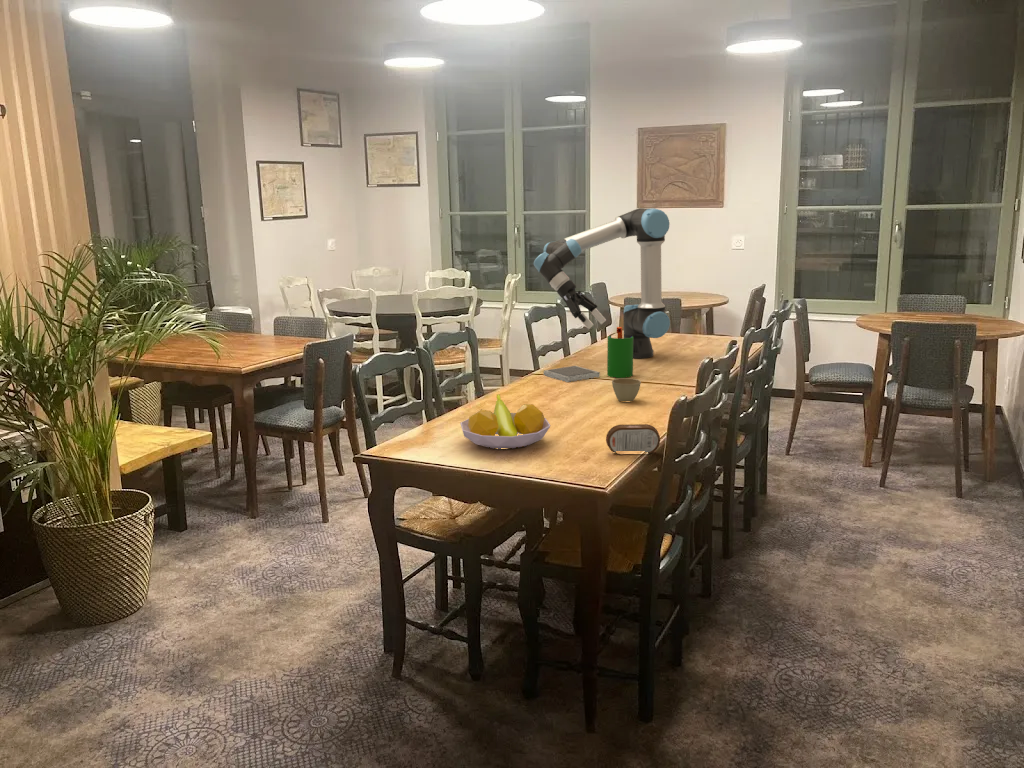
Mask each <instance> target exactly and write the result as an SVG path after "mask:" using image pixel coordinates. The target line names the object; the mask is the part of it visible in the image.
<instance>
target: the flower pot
mask: <svg viewBox="0 0 1024 768" xmlns="http://www.w3.org/2000/svg"><path fill="white" fill-rule="evenodd" d="M641 383H642V381H641V380H639V379H636V378H631V377H627V378H614V379H613V380H611V385H612V389H613V392H614V395H615V397H616V398H617V400H618V401H619V402H620V401H633V402H634V400H635V399H636V397H637V395H638V393H639V391H640V388H641Z"/></svg>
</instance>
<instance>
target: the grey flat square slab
mask: <svg viewBox="0 0 1024 768" xmlns="http://www.w3.org/2000/svg"><path fill="white" fill-rule="evenodd" d="M544 375H545V376H544ZM600 375H601V374H600V371H597V370H593V369H589V368H586V367H582V366H578V365H572V366H565V367H564V366H563V367H559V368H551V369H545V370H543V376H544V377H548V378H551V379H554V378H555V380H558V381H561V380H562V382H564V381H565V383H571V381H573V382H577V380H579V381H583V380H582V379H585V380H590V379H589V378H591V379H595V378H594V377H597V378H600V377H601V376H600Z"/></svg>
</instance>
